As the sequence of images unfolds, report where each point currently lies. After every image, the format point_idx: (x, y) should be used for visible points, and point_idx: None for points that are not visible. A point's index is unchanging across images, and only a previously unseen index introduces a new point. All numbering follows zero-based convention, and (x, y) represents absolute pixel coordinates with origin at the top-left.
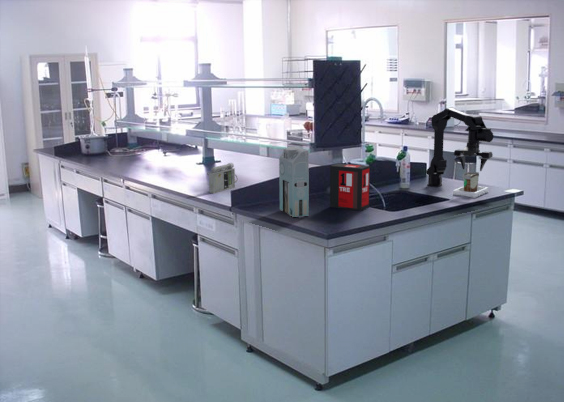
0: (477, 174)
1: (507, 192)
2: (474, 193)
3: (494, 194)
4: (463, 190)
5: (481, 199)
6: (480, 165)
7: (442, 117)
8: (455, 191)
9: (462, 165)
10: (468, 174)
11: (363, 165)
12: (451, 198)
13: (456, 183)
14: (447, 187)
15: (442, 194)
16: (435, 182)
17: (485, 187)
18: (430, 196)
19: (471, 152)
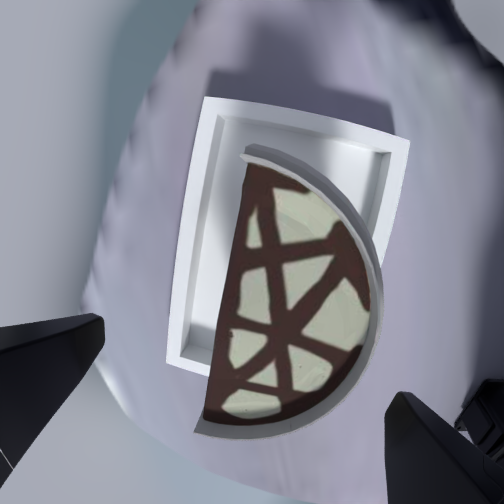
0: (205, 401)
1: (97, 360)
2: (215, 98)
3: (128, 287)
4: None
5: (169, 78)
6: (24, 339)
7: None
8: (387, 134)
9: (443, 429)
10: (311, 374)
11: None
12: (371, 28)
13: (377, 481)
14: (436, 394)
15: (462, 147)
16: (499, 399)
17: (183, 359)
18: (494, 66)
19: None
